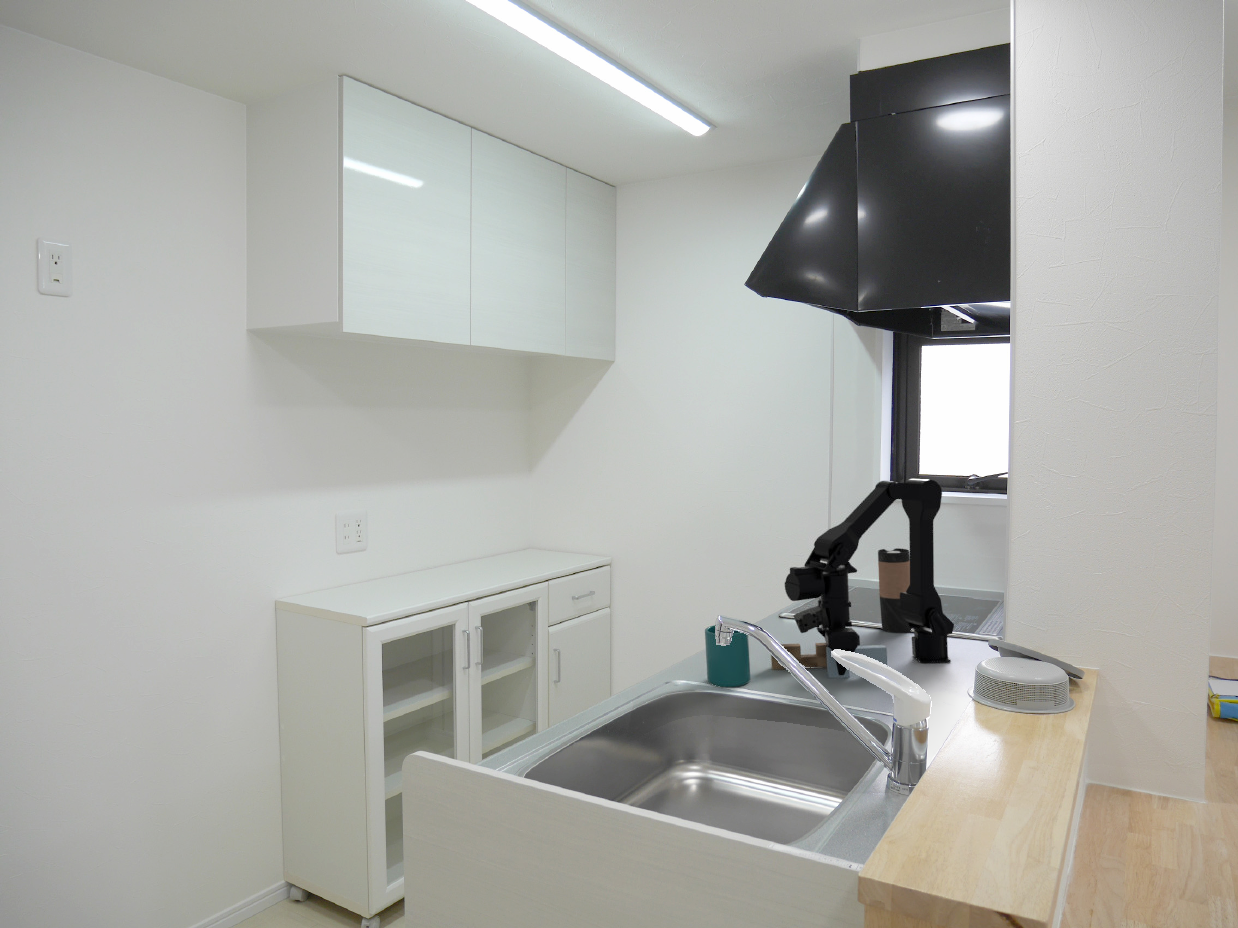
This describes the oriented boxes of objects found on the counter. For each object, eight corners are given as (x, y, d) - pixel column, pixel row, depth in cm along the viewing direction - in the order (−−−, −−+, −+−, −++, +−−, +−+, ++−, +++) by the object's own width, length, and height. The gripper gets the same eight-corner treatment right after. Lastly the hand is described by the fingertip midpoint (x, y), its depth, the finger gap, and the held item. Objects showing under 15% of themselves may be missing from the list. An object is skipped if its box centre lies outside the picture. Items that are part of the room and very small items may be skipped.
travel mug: (902, 634, 201) (899, 553, 200) (875, 630, 207) (871, 551, 206) (918, 628, 206) (915, 549, 205) (891, 624, 212) (887, 547, 211)
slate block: (885, 673, 173) (884, 644, 172) (887, 675, 171) (886, 647, 170) (827, 674, 174) (826, 646, 174) (829, 677, 172) (827, 649, 172)
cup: (765, 674, 176) (762, 623, 176) (736, 690, 167) (733, 636, 167) (729, 669, 182) (726, 619, 182) (699, 684, 173) (696, 631, 172)
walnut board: (845, 664, 180) (844, 641, 180) (847, 667, 178) (845, 644, 178) (771, 666, 182) (770, 644, 181) (772, 669, 180) (771, 646, 179)
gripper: (790, 587, 182) (792, 657, 182) (801, 606, 163) (805, 683, 164) (841, 586, 181) (844, 656, 181) (858, 604, 162) (861, 682, 163)
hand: (837, 668), depth 172 cm, fingers open, 8 cm apart
